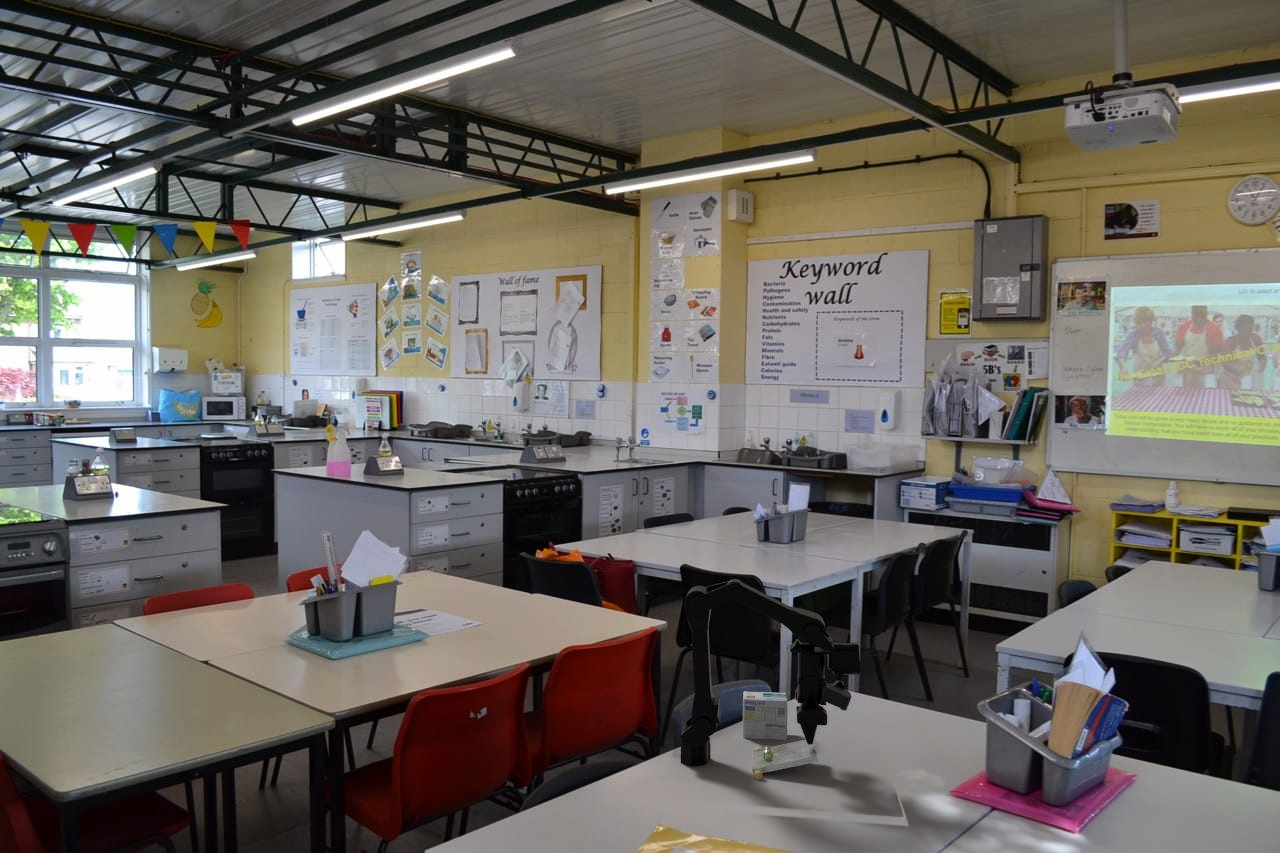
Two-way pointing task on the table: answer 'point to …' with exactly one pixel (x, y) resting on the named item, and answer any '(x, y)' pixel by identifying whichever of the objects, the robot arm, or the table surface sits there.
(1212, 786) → the table surface
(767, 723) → the light bulb box
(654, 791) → the table surface
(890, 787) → the table surface
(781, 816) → the table surface
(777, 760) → the level plate
